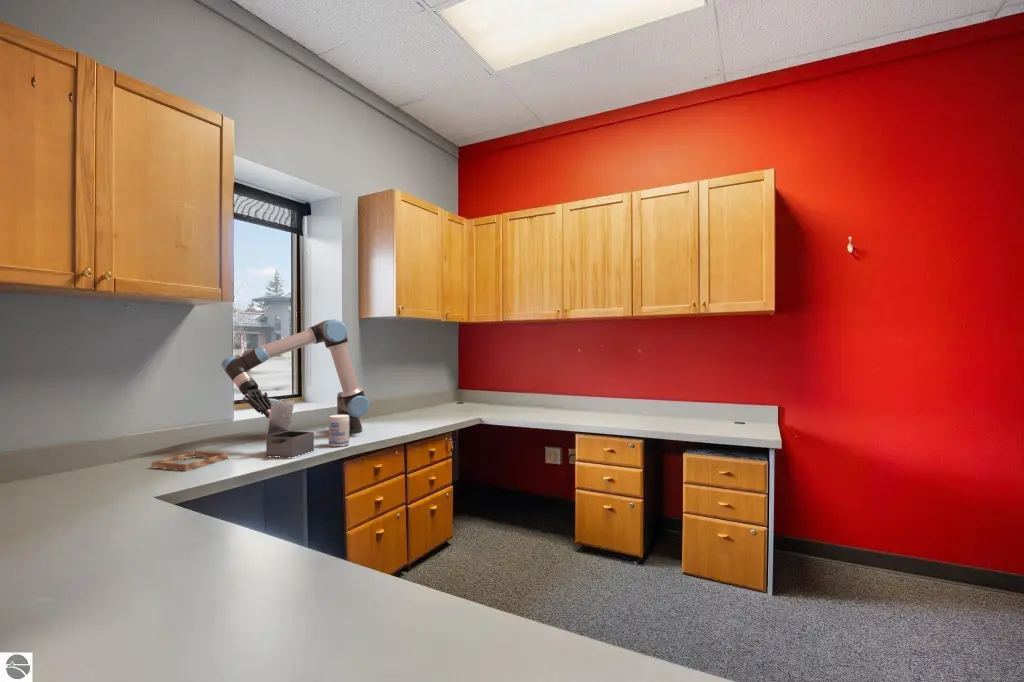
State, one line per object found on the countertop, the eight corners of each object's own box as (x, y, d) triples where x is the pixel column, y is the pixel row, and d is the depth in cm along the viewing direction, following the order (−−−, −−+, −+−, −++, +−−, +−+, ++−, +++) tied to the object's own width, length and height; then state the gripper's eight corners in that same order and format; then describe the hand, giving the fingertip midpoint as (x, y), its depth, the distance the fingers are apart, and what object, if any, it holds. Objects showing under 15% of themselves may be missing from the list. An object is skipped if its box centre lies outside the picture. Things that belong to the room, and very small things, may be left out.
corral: (195, 456, 215) (195, 451, 215) (227, 459, 210) (227, 453, 210) (151, 468, 196) (151, 462, 196) (186, 471, 191) (186, 464, 191)
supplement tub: (330, 448, 231) (329, 417, 231) (327, 444, 239) (327, 415, 239) (351, 446, 236) (350, 416, 236) (347, 442, 244) (347, 413, 244)
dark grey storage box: (291, 448, 231) (291, 429, 231) (317, 450, 227) (316, 431, 227) (262, 457, 213) (262, 437, 213) (289, 459, 209) (289, 439, 209)
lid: (288, 430, 228) (286, 429, 229) (294, 400, 228) (291, 399, 228) (266, 436, 215) (263, 435, 215) (273, 404, 214) (270, 403, 214)
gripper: (252, 388, 233) (280, 424, 229) (230, 390, 220) (259, 429, 216) (261, 377, 232) (290, 414, 227) (239, 379, 219) (269, 418, 215)
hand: (275, 421), depth 222 cm, fingers closed
